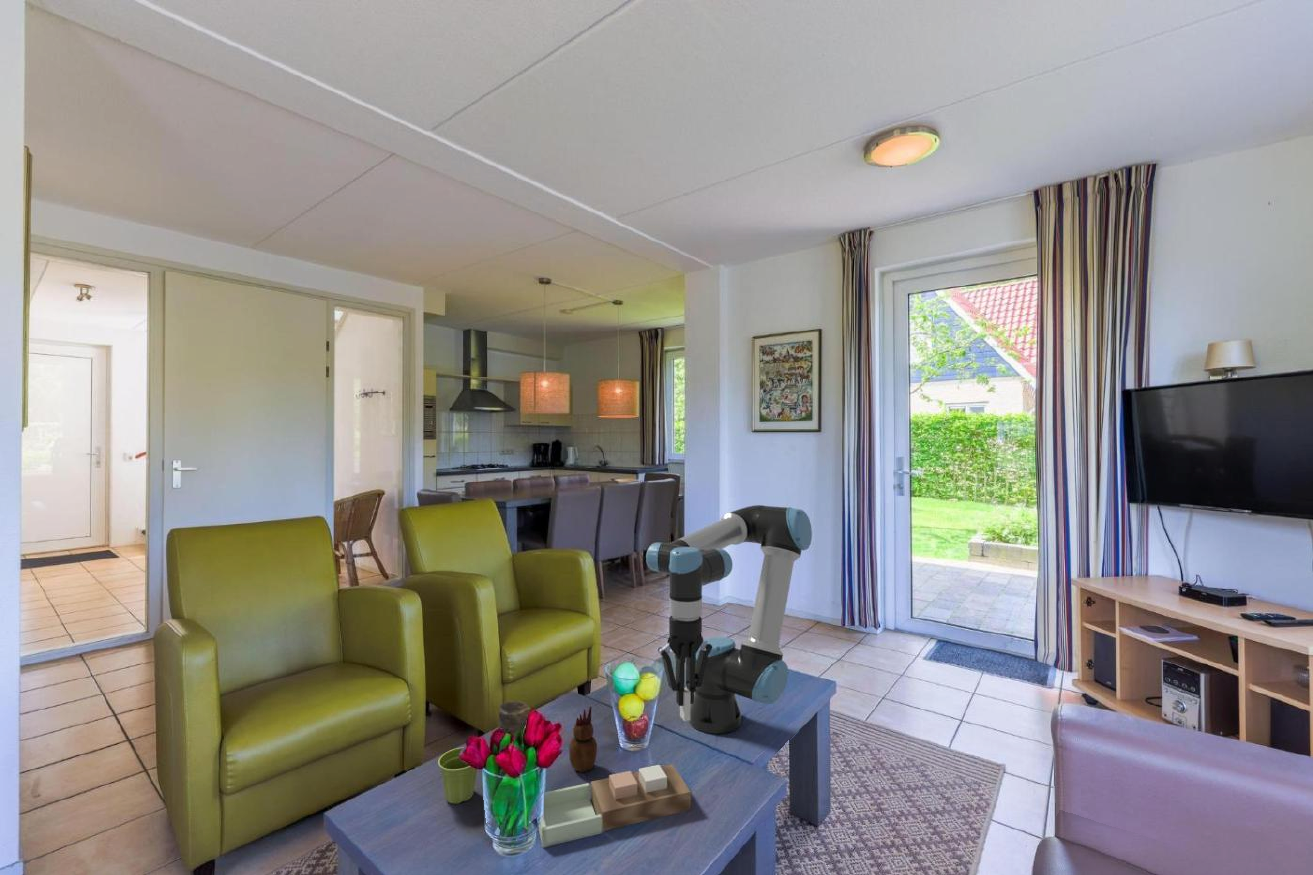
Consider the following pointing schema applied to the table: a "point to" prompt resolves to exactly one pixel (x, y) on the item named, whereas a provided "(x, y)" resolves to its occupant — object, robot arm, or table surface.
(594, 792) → the brown box sleeve
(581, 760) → the wooden figurine
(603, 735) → the table surface
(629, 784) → the tile
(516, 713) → the candle
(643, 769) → the tile
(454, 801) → the plant pot
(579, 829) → the tray
